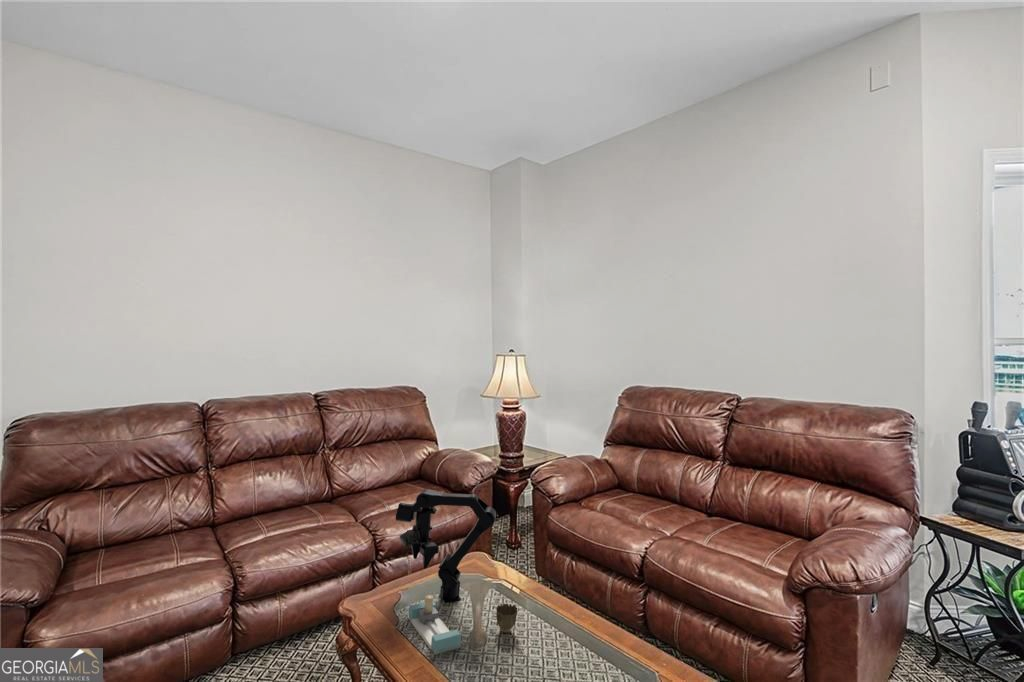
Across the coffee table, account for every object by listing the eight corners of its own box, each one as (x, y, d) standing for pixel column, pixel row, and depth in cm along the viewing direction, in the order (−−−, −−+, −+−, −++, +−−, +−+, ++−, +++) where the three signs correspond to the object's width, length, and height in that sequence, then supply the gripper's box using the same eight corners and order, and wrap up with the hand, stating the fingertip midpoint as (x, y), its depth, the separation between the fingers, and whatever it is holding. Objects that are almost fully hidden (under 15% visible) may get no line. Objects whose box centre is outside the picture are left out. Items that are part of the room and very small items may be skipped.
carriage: (432, 614, 186) (434, 592, 186) (437, 621, 183) (439, 598, 183) (417, 618, 183) (418, 595, 183) (421, 625, 180) (423, 602, 179)
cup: (494, 624, 186) (496, 602, 186) (514, 625, 187) (516, 603, 187) (495, 637, 179) (497, 613, 179) (516, 637, 179) (518, 614, 179)
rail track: (431, 612, 191) (432, 600, 191) (460, 647, 171) (461, 634, 171) (408, 618, 186) (409, 605, 186) (434, 654, 166) (435, 640, 166)
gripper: (394, 517, 206) (391, 557, 206) (413, 535, 190) (410, 577, 191) (420, 514, 212) (417, 552, 212) (441, 530, 197) (437, 572, 197)
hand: (419, 563), depth 203 cm, fingers open, 9 cm apart
